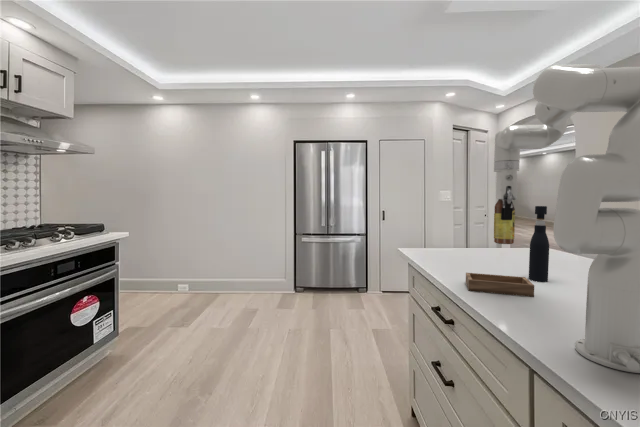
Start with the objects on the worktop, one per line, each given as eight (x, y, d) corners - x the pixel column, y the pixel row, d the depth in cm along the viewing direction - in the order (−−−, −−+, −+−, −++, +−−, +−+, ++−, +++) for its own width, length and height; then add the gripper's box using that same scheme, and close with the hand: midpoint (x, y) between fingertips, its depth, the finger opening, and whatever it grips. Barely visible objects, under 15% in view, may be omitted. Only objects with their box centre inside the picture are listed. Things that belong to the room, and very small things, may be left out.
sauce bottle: (517, 245, 105) (519, 186, 103) (497, 244, 106) (499, 186, 105) (509, 242, 111) (511, 186, 110) (490, 241, 113) (492, 186, 111)
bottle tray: (533, 297, 105) (534, 285, 105) (468, 290, 112) (468, 279, 112) (524, 287, 116) (525, 277, 115) (465, 282, 123) (465, 272, 122)
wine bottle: (531, 281, 124) (534, 206, 122) (526, 277, 130) (529, 205, 129) (550, 282, 122) (553, 206, 121) (544, 278, 128) (547, 206, 127)
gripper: (526, 164, 98) (523, 221, 99) (512, 168, 114) (510, 217, 115) (498, 165, 100) (496, 221, 102) (489, 169, 116) (488, 216, 118)
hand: (504, 218), depth 108 cm, fingers closed on sauce bottle, 6 cm apart
